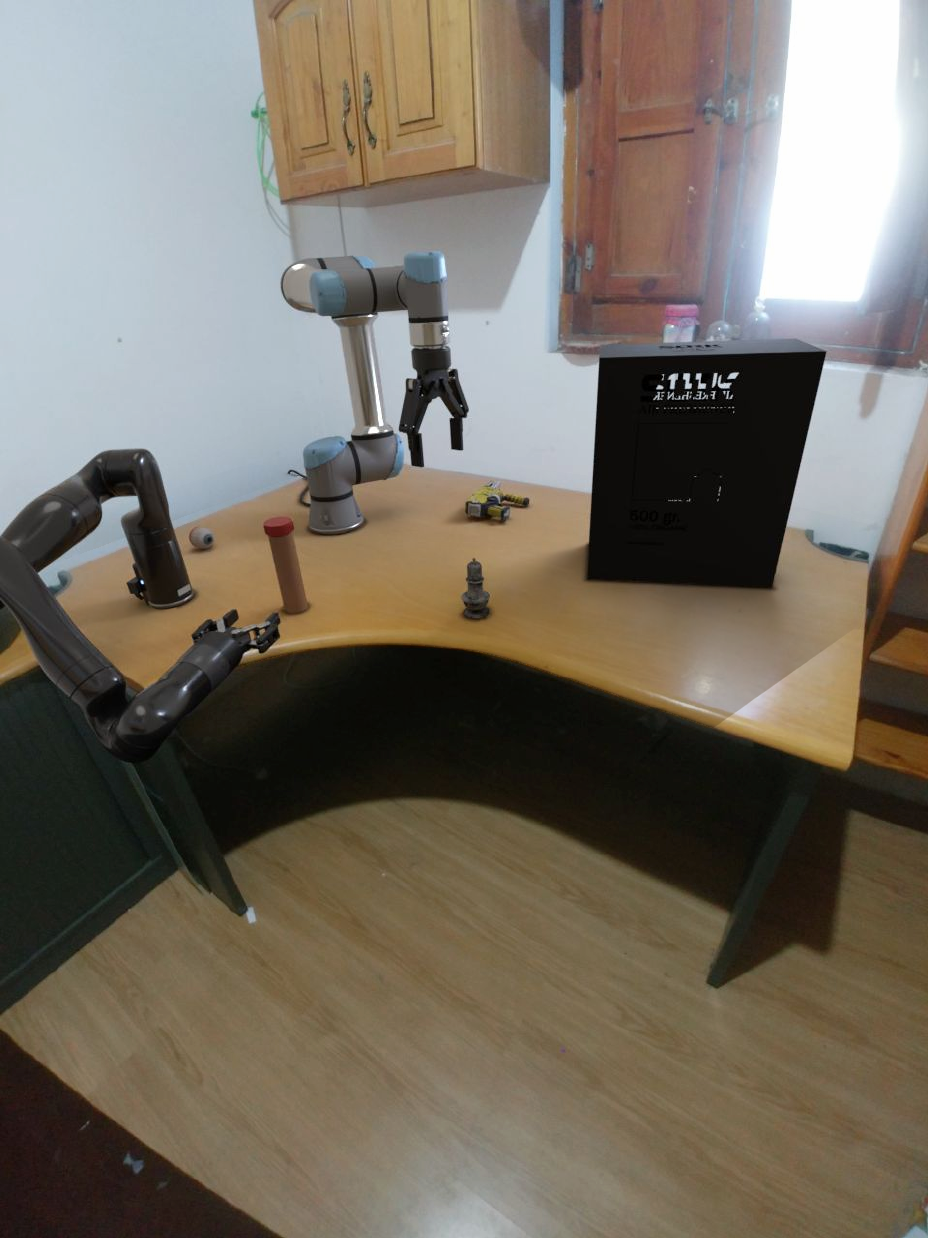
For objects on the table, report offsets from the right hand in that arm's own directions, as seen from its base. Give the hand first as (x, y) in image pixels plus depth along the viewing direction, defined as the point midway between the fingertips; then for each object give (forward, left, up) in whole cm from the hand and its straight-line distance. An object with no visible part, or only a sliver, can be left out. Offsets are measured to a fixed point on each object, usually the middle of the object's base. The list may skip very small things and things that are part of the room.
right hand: (438, 457), depth 125 cm
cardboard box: (+31, +41, -27) cm, 58 cm away
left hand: (+1, -44, -20) cm, 49 cm away
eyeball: (-56, -39, -27) cm, 73 cm away
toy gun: (-25, +37, -27) cm, 52 cm away
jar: (-8, -34, -27) cm, 44 cm away
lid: (-8, -34, -8) cm, 35 cm away
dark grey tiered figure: (+19, -6, -27) cm, 33 cm away
